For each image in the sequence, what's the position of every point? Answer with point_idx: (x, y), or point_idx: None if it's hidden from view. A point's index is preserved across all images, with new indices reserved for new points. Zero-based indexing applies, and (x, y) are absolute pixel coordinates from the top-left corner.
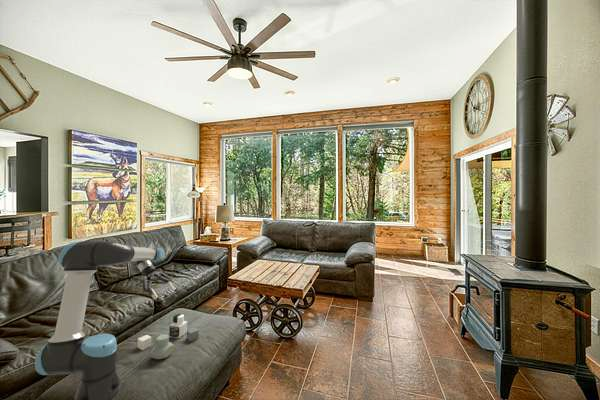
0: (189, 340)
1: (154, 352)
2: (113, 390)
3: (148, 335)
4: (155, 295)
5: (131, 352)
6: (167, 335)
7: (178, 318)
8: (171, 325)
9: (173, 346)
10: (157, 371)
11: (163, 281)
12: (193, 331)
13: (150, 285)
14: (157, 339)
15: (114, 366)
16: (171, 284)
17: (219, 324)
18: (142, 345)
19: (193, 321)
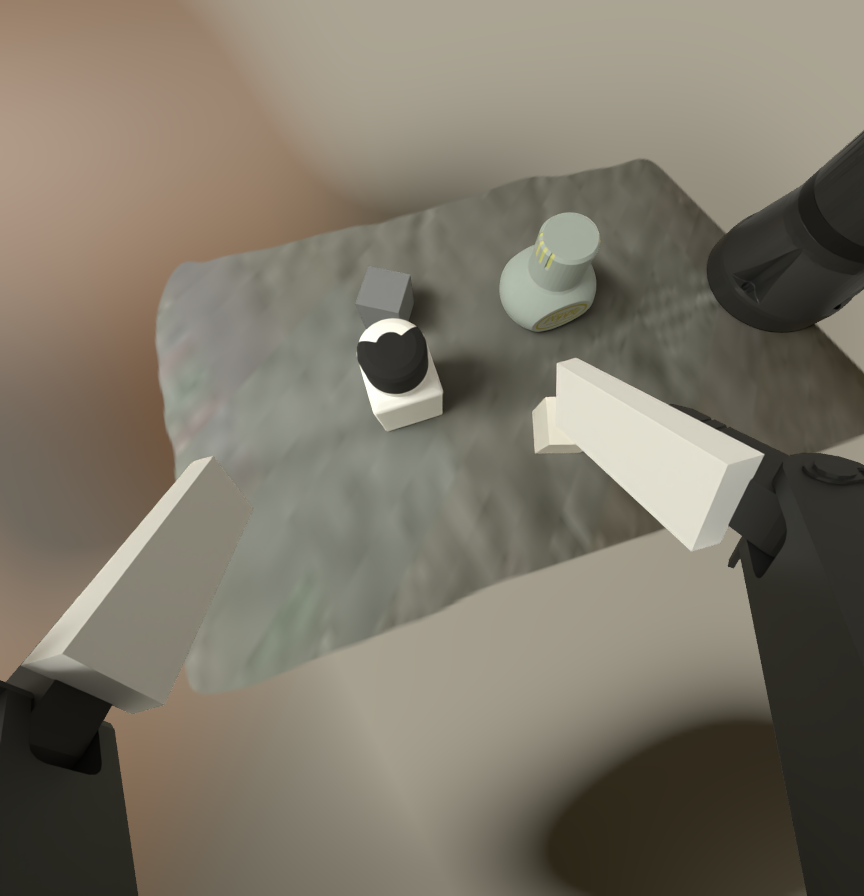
0: (412, 304)
1: (592, 267)
2: (755, 213)
3: (548, 426)
4: (598, 377)
5: None
6: (546, 230)
7: (410, 323)
8: (437, 380)
9: (508, 263)
10: None
11: (128, 866)
12: (389, 275)
13: (856, 572)
14: (599, 235)
15: (835, 155)
16: (135, 542)
17: (238, 316)
18: None
19: (276, 454)
